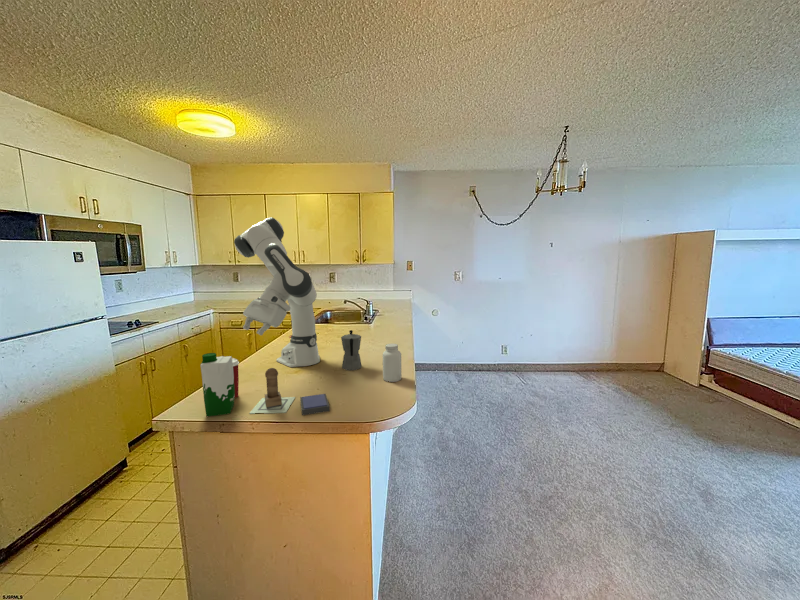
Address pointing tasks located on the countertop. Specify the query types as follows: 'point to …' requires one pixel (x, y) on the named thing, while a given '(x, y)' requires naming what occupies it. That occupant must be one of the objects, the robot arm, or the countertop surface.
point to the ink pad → (314, 404)
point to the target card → (281, 409)
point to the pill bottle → (392, 363)
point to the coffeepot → (351, 351)
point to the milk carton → (217, 384)
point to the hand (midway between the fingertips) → (251, 331)
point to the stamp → (272, 389)
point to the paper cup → (235, 375)
